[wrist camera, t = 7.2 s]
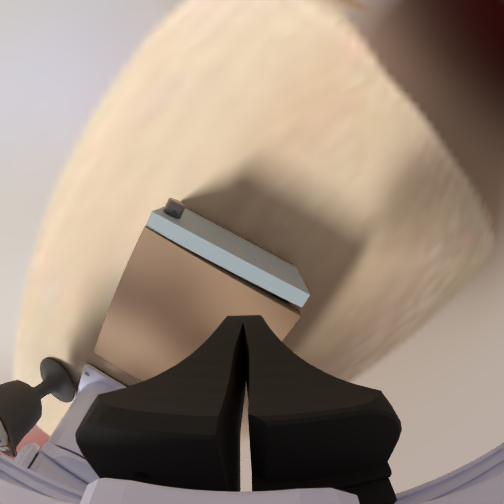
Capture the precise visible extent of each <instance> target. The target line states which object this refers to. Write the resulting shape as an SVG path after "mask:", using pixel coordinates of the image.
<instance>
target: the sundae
mask: <svg viewBox="0 0 504 504" xmlns="http://www.w3.org/2000/svg"><path fill="white" fill-rule="evenodd" d="M40 372H41V377H42V380H43V382H42V383H40V384H39V385H37V386H36V387H31V386H30V385H28V384H27V383H24V382H22V381H19V380H16V381H11V382H7V383H4V384H1V385H0V451H1V452H2V453H4V454H6V455H8V456H11V457H16V456H17V452H16V446H17V445H18V444H19V443H20V441H21V440H22V438H23V437H24V436H25V435H26V434H27V433H28V432H29V431H30V430H31V429H32V428H33V427H34V426H35V424H36V423H37V422H38V420H39V419H40V417H41V414H42V405H41V398H43V397H44V396H46V395H47V394H50V393H51V394H52V395H53V396H54V397H56V398H57V399H59V400H60V401H63V402H71V401H72V400H73V399H74V396H75V391H74V386H73V383H72V380H71V378H70V376H69V375H68V373H67V371H66V370H65V369H64V368H63V367H62V366H61V365H60V364H59V363H58V362H56V361H55V360H53V359H50V358H46V359H44V360H42V362H41V365H40Z"/></svg>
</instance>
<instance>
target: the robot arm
mask: <svg viewBox="0 0 504 504" xmlns="http://www.w3.org/2000/svg"><path fill="white" fill-rule="evenodd" d="M246 383H247V391H248V399H249V407H248V419H249V436H250V451H251V467H252V492H240V431H241V421H242V412H243V404H244V396H245V387H246ZM400 433H401V422H400V420H399V418H398V416H397V415H396V413H395V411H394V409H393V407H392V406H391V404H390V403H389V401H388V400H387V399H386V397H385V396H384V395H383V393H382V392H381V391H379V390H376V389H372V388H368V387H364V386H360V385H356V384H352V383H349V382H347V381H344V380H341V379H338V378H336V377H334V376H331V375H329V374H327V373H325V372H323V371H321V370H319V369H317V368H315V367H314V366H312V365H310V364H309V363H307V362H305V361H304V360H303V359H301V358H300V357H298V356H297V355H296V354H294V353H293V352H292V351H291V350H290V349H289V348H288V347H287V346H286V345H285V344H284V343H283V342H282V341H281V340H280V339H279V338H278V337H277V336H276V335H275V334H274V332H273V331H272V330H271V329H270V327H269V326H268V325H267V323H266V322H265V320H264V318H263V317H262V316H261V315H241V316H227V317H226V318H225V319H224V320H223V321H222V323H221V324H220V325H219V326H218V328H217V329H216V330H215V331H214V332H213V333H212V334H211V336H210V337H209V338H208V339H207V340H206V341H205V342H204V343H203V344H202V345H201V346H200V347H199V348H198V349H196V350H195V351H194V352H193V353H192V354H191V355H189V356H188V357H187V358H185V359H184V360H182V361H181V362H179V363H178V364H176V365H175V366H173V367H171V368H169V369H168V370H166V371H164V372H162V373H160V374H158V375H157V376H154V377H152V378H150V379H148V380H145V381H143V382H140V383H138V384H135V385H132V386H129V387H126V386H124V385H123V384H121V383H119V382H117V381H116V380H114V379H112V378H111V377H109V376H107V375H106V374H104V373H103V372H101V371H99V370H98V369H96V368H95V367H93V366H92V365H90V364H86V365H85V366H84V369H83V372H82V376H81V379H80V383H79V387H78V390H77V394H76V398H75V400H74V401H73V403H72V404H71V406H70V407H69V409H68V410H67V412H66V413H65V415H64V416H63V418H62V420H61V421H60V423H59V424H58V426H57V427H56V429H55V430H54V432H53V434H52V435H51V437H50V438H49V440H48V441H46V443H45V444H44V446H43V448H42V449H41V451H40V450H39V448H40V446H39V445H37V444H36V443H32V444H30V443H27V444H25V445H24V446H23V448H22V449H21V450H20V452H19V453H18V455H17V456H16V458H15V459H14V461H13V460H11V459H9V458H7V457H5V456H4V455H2V454H0V504H504V443H502V444H501V445H499V446H498V447H496V448H495V449H493V450H491V451H490V452H488V453H486V454H485V455H483V456H481V457H479V458H477V459H476V460H474V461H472V462H470V463H468V464H466V465H464V466H462V467H460V468H458V469H456V470H454V471H452V472H450V473H448V474H446V475H444V476H441V477H439V478H437V479H435V480H432V481H430V482H427V483H425V484H422V485H420V486H417V487H415V488H412V489H409V490H407V491H404V492H401V493H397V494H395V493H394V491H393V488H392V485H391V483H390V480H389V478H388V477H390V476H391V469H390V467H389V464H388V462H387V461H388V459H389V458H390V456H391V454H392V452H393V450H394V448H395V446H396V444H397V442H398V440H399V436H400Z"/></svg>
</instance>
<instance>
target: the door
mask: <svg viewBox="0 0 504 504" xmlns="http://www.w3.org/2000/svg"><path fill="white" fill-rule="evenodd" d="M146 227H148V228H150V229H152V230H154V231H155V232H157V233H159V234H161V235H163V236H165V237H166V238H168V239H170V240H172V241H174V242H176V243H177V244H179V245H181V246H183V247H185V248H187V249H189V250H191V251H192V252H194V253H196V254H198V255H200V256H202V257H204V258H206V259H208V260H209V261H211V262H213V263H215V264H217V265H219V266H221V267H223V268H225V269H227V270H229V271H231V272H232V273H234V274H236V275H238V276H240V277H242V278H244V279H246V280H248V281H250V282H252V283H254V284H256V285H258V286H260V287H262V288H264V289H266V290H268V291H270V292H272V293H274V294H276V295H277V296H279V297H281V298H283V299H285V300H287V301H289V302H291V303H293V304H295V305H298V306H300V307H303V305H304V304H305V302H306V301H307V299H308V298H309V296H310V293H309V291H308V289H307V287H306V285H305V283H304V281H303V279H302V277H301V275H300V273H299V271H298V269H297V267H295V266H293V265H291V264H289V263H288V262H286V261H284V260H282V259H280V258H278V257H276V256H275V255H273V254H271V253H269V252H267V251H265V250H263V249H262V248H260V247H258V246H256V245H254V244H252V243H250V242H249V241H247V240H245V239H243V238H241V237H239V236H237V235H235V234H234V233H232V232H230V231H228V230H226V229H224V228H222V227H220V226H218V225H217V224H215V223H213V222H211V221H209V220H207V219H205V218H203V217H202V216H200V215H198V214H196V213H194V212H192V211H190V210H188V209H186V205H185V204H183V203H181V202H180V201H178V200H175V199H172V198H169V200H168V202H167V204H166V206H165V207H163V208H160V209H157V210H155V211H152V213H151V215H150V217H149V219H148V222H147V224H146Z"/></svg>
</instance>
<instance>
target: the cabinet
mask: <svg viewBox="0 0 504 504" xmlns="http://www.w3.org/2000/svg"><path fill="white" fill-rule="evenodd" d="M241 315H261V316H262V317H263V318H264V320H265V322H266V323H267V325H268V326H269V327H270V329H271V330H272V331H273V332H274V334H275V335H276V336H277V337H278V338H279V339H280V340H281V341H283V340H284V338H285V337H286V336H287V334H288V333H289V332H290V330H291V329H292V328H293V326H294V325H295V324H296V322H297V321H298V320H299V318H300V317H301V315H300V312H299V309H298V306H297V305H295V304H293V303H291V302H289V301H287V300H285V299H283V298H281V297H279V296H277V295H276V294H274V293H272V292H270V291H268V290H266V289H264V288H262V287H260V286H258V285H256V284H254V283H252V282H250V281H248V280H246V279H244V278H242V277H240V276H238V275H236V274H234V273H232V272H231V271H229V270H227V269H225V268H223V267H221V266H219V265H217V264H215V263H213V262H211V261H209V260H208V259H206V258H204V257H202V256H200V255H198V254H196V253H194V252H192V251H191V250H189V249H187V248H185V247H183V246H181V245H179V244H177V243H176V242H174V241H172V240H170V239H168V238H166V237H165V236H163V235H161V234H159V233H157V232H155V231H154V230H152V229H150V228H148V227H146V226H145V227H144V229H143V231H142V233H141V235H140V237H139V239H138V242H137V244H136V246H135V248H134V250H133V252H132V255H131V257H130V259H129V261H128V264H127V266H126V268H125V271H124V273H123V275H122V278H121V280H120V282H119V285H118V287H117V290H116V292H115V295H114V297H113V300H112V302H111V305H110V307H109V310H108V313H107V315H106V318H105V321H104V323H103V326H102V329H101V332H100V334H99V337H98V340H97V343H96V346H95V349H94V353H95V354H97V355H98V356H100V357H101V358H103V359H105V360H106V361H108V362H109V363H111V364H113V365H114V366H116V367H118V368H119V369H121V370H123V371H124V372H126V373H128V374H129V375H131V376H133V377H135V378H137V379H138V380H140V381H142V382H143V381H145V380H148V379H150V378H152V377H154V376H157V375H158V374H160V373H162V372H164V371H166V370H168V369H169V368H171V367H173V366H175V365H176V364H178V363H179V362H181V361H182V360H184V359H185V358H187V357H188V356H189V355H191V354H192V353H193V352H194V351H195V350H196V349H198V348H199V347H200V346H201V345H202V344H203V343H204V342H205V341H206V340H207V339H208V338H209V337H210V336H211V334H212V333H213V332H214V331H215V330H216V329H217V328H218V326H219V325H220V324H221V323H222V321H223V320H224V319H225V318H226V317H227V316H241ZM246 386H247V383H246Z"/></svg>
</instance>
